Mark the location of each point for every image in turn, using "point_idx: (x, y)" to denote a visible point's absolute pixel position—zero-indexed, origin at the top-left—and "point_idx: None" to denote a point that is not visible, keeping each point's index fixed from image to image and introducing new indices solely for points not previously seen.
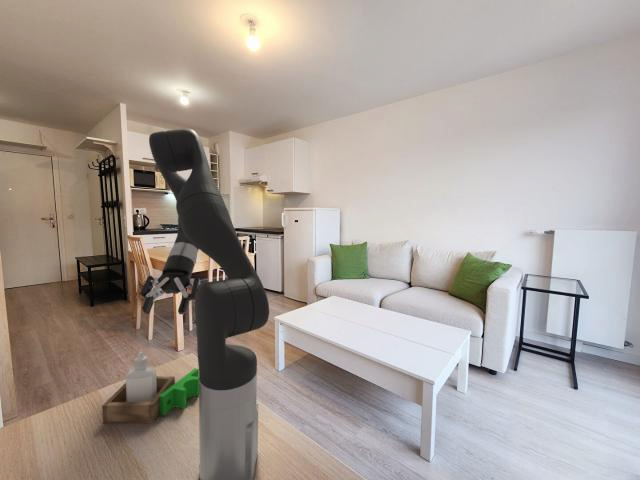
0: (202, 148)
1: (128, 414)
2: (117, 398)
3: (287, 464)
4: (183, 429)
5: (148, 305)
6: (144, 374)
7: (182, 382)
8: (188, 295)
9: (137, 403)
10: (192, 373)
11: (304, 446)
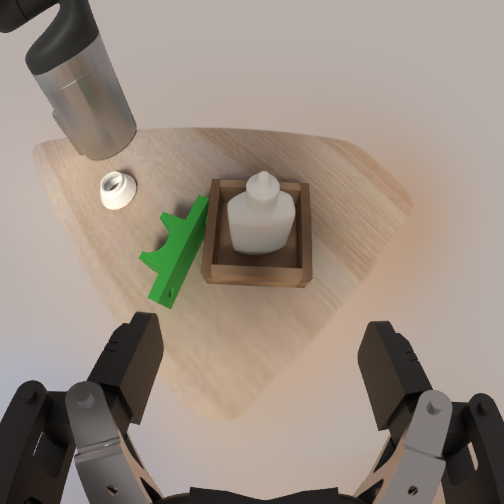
0: None
1: None
2: (300, 214)
3: (61, 146)
4: (163, 183)
5: (382, 353)
6: (245, 191)
7: (172, 240)
8: (70, 405)
9: (244, 183)
10: (158, 278)
11: (41, 166)
